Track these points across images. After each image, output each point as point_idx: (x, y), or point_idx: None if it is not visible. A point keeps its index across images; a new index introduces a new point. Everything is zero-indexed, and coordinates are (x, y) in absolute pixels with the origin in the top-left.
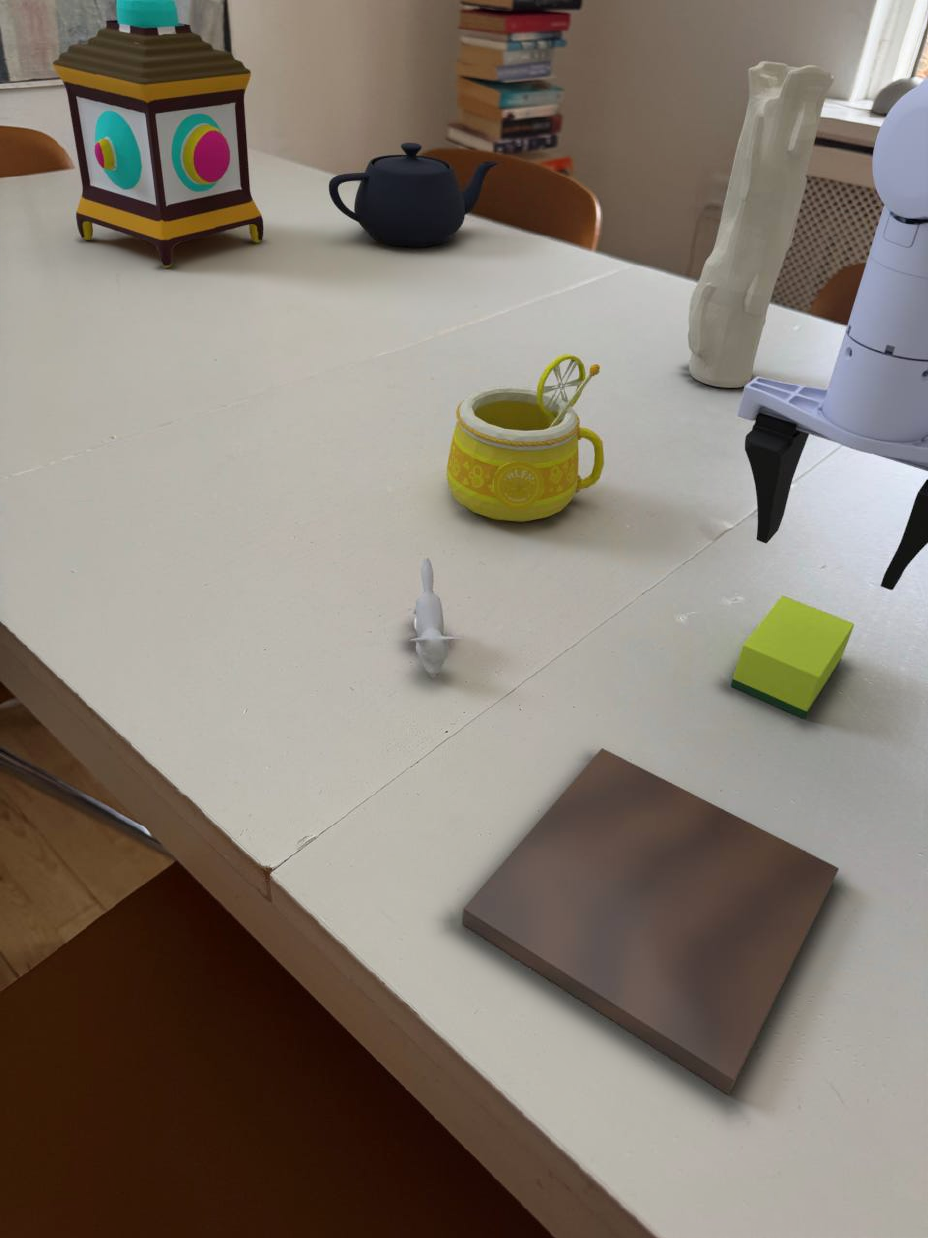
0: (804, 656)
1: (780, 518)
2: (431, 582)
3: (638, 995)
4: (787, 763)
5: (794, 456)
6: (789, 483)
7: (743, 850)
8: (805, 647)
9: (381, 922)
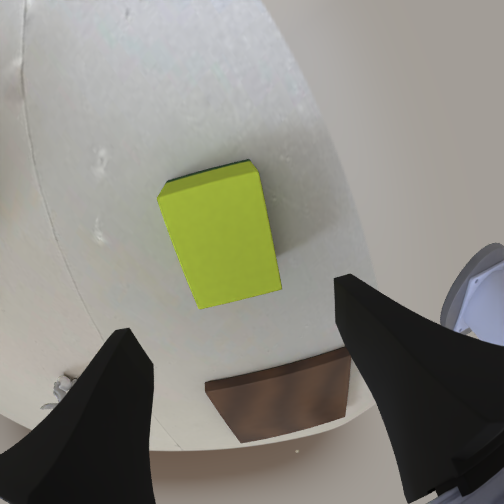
0: (253, 277)
1: (127, 353)
2: (55, 406)
3: (307, 425)
4: (287, 306)
5: (108, 482)
6: (101, 403)
7: (307, 380)
8: (244, 263)
9: (222, 444)
